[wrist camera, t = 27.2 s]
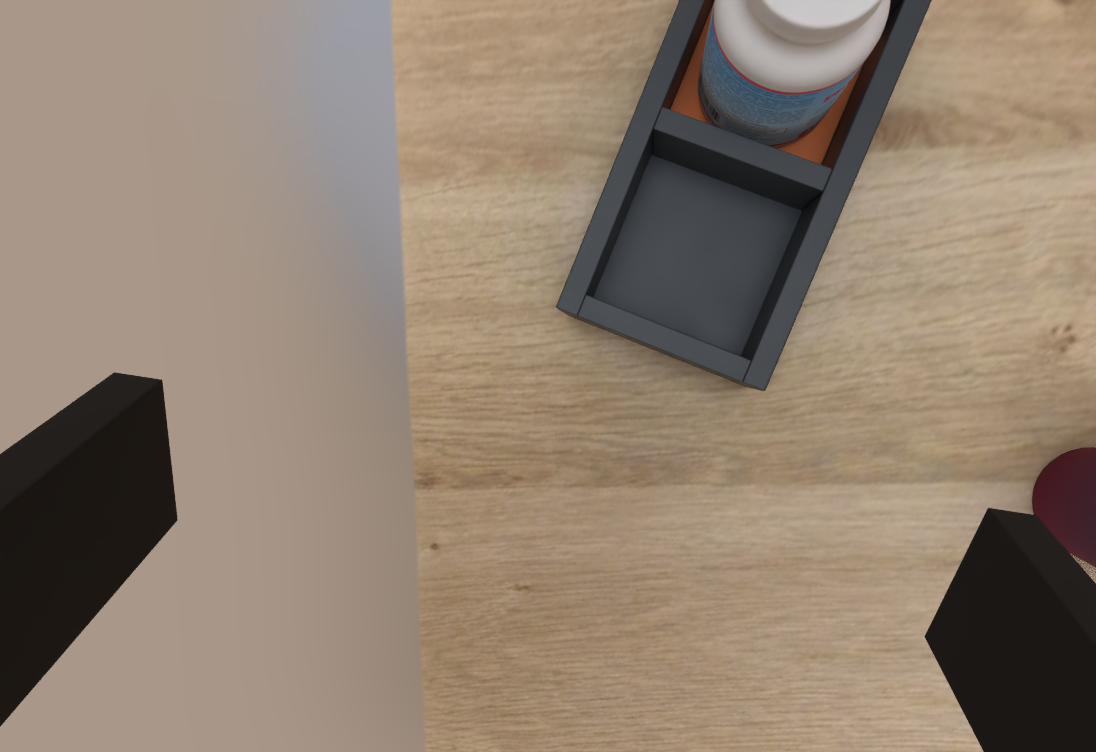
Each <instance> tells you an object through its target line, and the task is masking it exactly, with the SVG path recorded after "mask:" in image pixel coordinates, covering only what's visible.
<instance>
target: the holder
mask: <svg viewBox="0 0 1096 752" xmlns="http://www.w3.org/2000/svg"><path fill="white" fill-rule="evenodd" d="M714 1H715V0H679V3H678V5H677V8H676V10H675V13H674V15H673V18H672V20H671V23H670V25H669V28H668V30H667V33H666V35H665V38H664V40H663V43H662V45H661V48H660V50H659V53H658V55H657V58H656V60H655V62H654V65H653V67H652V70H651V72H650V75H649V77H648V80H647V82H646V85H645V87H644V90H643V92H642V95H641V97H640V100H639V102H638V105H637V107H636V110H635V112H634V115H633V117H632V120H631V122H630V125H629V127H628V130H627V132H626V135H625V137H624V139H623V142H622V144H621V147H620V149H619V152H618V154H617V157H616V159H615V162H614V164H613V167H612V169H611V172H610V174H609V177H608V179H607V182H606V184H605V187H604V189H603V192H602V194H601V197H600V199H599V202H598V204H597V207H596V209H595V211H594V214H593V216H592V219H591V221H590V224H589V226H588V229H587V231H586V234H585V236H584V239H583V241H582V244H581V246H580V249H579V251H578V254H577V256H576V259H575V261H574V264H573V266H572V269H571V271H570V274H569V276H568V279H567V281H566V283H565V286H564V288H563V291H562V293H561V296H560V298H559V301H558V303H557V306H556V308H558V309H559V310H561V311H562V312H564V313H565V314H567V315H569V316H572V317H574V318H577V319H579V320H582V321H584V322H586V323H589V324H591V325H594V326H596V327H599V328H601V329H604V330H606V331H609V332H611V333H614V334H616V335H619V336H621V337H624V338H626V339H629V340H631V341H634V342H636V343H639V344H641V345H644V346H646V347H649V348H651V349H654V350H656V351H659V352H661V353H664V354H666V355H669V356H671V357H674V358H676V359H679V360H681V361H683V362H686V363H688V364H691V365H693V366H696V367H698V368H701V369H703V370H706V371H708V372H711V373H713V374H716V375H718V376H721V377H723V378H726V379H728V380H731V381H733V382H736V383H738V384H741V385H743V386H746V387H749V388H753V389H757V390H761V391H765V390H766V388H767V385H768V383H769V381H770V378H771V376H772V374H773V371H774V369H775V367H776V364H777V362H778V359H779V357H780V355H781V352H782V350H783V348H784V345H785V343H786V341H787V338H788V336H789V334H790V331H791V329H792V327H793V324H794V322H795V320H796V317H797V315H798V313H799V310H800V308H801V306H802V303H803V301H804V298H805V296H806V294H807V291H808V289H809V287H810V284H811V282H812V280H813V277H814V275H815V273H816V270H817V268H818V266H819V263H820V261H821V259H822V256H823V254H824V252H825V249H826V247H827V245H828V242H829V240H830V237H831V235H832V233H833V230H834V228H835V226H836V223H837V221H838V219H839V216H840V214H841V212H842V209H843V207H844V205H845V202H846V200H847V198H848V195H849V193H850V191H851V188H852V186H853V184H854V181H855V179H856V176H857V174H858V172H859V169H860V167H861V165H862V162H863V160H864V158H865V155H866V153H867V151H868V148H869V146H870V144H871V141H872V139H873V137H874V134H875V132H876V130H877V127H878V125H879V123H880V120H881V118H882V116H883V113H884V111H885V108H886V106H887V104H888V101H889V99H890V97H891V94H892V92H893V90H894V87H895V85H896V83H897V80H898V78H899V76H900V73H901V71H902V69H903V66H904V64H905V62H906V59H907V57H908V55H909V52H910V50H911V47H912V45H913V43H914V40H915V38H916V36H917V33H918V31H919V29H920V26H921V24H922V22H923V19H924V17H925V15H926V12H927V10H928V8H929V5H930V3H931V1H932V0H890V9H889V14H888V18H887V21H886V24H885V27H884V30H883V32H882V35H881V37H880V39H879V40H878V42H877V44H876V45H875V47H874V49H873V50H872V52H871V53H870V55H869V56H868V57H867V59H866V60H865V61H864V63H863V64H862V66H861V67H860V68H859V70H858V71H857V72H856V74H855V75H854V77H853V78H852V79H851V81H850V82H849V83H848V85H847V86H846V88H845V89H844V90H843V92H842V93H841V94H840V96H839V97H838V99H837V100H836V101H835V103H834V104H833V105H832V107H831V108H830V110H829V111H828V112H827V114H826V115H825V116H824V118H823V119H822V120H821V121H820V123H819V124H818V125H817V126H816V127H815V128H814V129H813V130H812V131H811V132H810V133H808V134H807V135H806V136H804V137H803V138H801V139H799V140H798V141H796V142H793V143H791V144H788V145H785V146H781V147H777V148H774V147H771V146H768V145H766V144H763V143H760V142H757V141H755V140H752V139H749V138H747V137H744V136H741V135H738V134H736V133H733V132H730V131H727V130H725V129H722V128H719V127H716V126H714V125H711V124H710V123H709V122H708V120H707V119H706V117H705V115H704V113H703V110H702V108H701V104H700V100H699V94H698V79H699V73H700V68H701V63H702V58H703V54H704V49H705V44H706V39H707V34H708V30H709V25H710V20H711V15H712V11H713V6H714Z"/></svg>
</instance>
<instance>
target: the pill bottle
mask: <svg viewBox="0 0 1096 752" xmlns="http://www.w3.org/2000/svg"><path fill="white" fill-rule="evenodd" d="M889 9H890V0H715V1H714V6H713V11H712V15H711V20H710V25H709V30H708V34H707V39H706V44H705V49H704V54H703V58H702V63H701V68H700V73H699V79H698V94H699V100H700V104H701V108H702V110H703V113H704V115H705V117H706V119H707V120H708V122H709V123H710V124H711V125H714V126H716V127H719V128H722V129H725V130H727V131H730V132H733V133H736V134H738V135H741V136H744V137H747V138H749V139H752V140H755V141H757V142H760V143H763V144H766V145H768V146H771V147H774V148H777V147H781V146H785V145H788V144H791V143H793V142H796V141H798V140H799V139H801V138H803V137H804V136H806V135H807V134H808V133H810V132H811V131H812V130H813V129H814V128H815V127H816V126H817V125H818V124H819V123H820V121H821V120H822V119H823V118H824V116H825V115H826V114H827V112H828V111H829V110H830V108H831V107H832V105H833V104H834V103H835V101H836V100H837V99H838V97H839V96H840V94H841V93H842V92H843V90H844V89H845V88H846V86H847V85H848V83H849V82H850V81H851V79H852V78H853V77H854V75H855V74H856V72H857V71H858V70H859V68H860V67H861V66H862V64H863V63H864V61H865V60H866V59H867V57H868V56H869V55H870V53H871V52H872V50H873V49H874V47H875V45H876V44H877V42H878V40H879V39H880V37H881V35H882V32H883V30H884V27H885V24H886V21H887V18H888V14H889Z"/></svg>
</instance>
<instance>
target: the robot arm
mask: <svg viewBox="0 0 1096 752" xmlns="http://www.w3.org/2000/svg"><path fill="white" fill-rule="evenodd" d="M176 521H177V512H176V502H175V493H174V484H173V474H172V466H171V456H170V447H169V438H168V429H167V420H166V410H165V401H164V392H163V383H162V380H159V379H153V378H147V377H140V376H134V375H127V374H121V373H113V374H112V375H110V376H109V377H107V378H106V379H105V380H103V381H102V382H100V383H99V384H98V385H96V386H95V387H93V388H92V389H91V390H89V391H88V392H86V393H85V394H84V395H82V396H81V397H79V398H78V399H77V400H75V401H74V402H72V403H71V404H70V405H68V406H67V407H66V408H64V409H63V410H61V411H60V412H58V413H57V414H56V415H55V416H53V417H52V418H50V419H49V420H47V421H46V422H45V423H43V424H42V425H40V426H39V427H38V428H36V429H35V430H33V431H32V432H31V433H29V434H28V435H26V436H25V437H24V438H22V439H21V440H20V441H18V442H17V443H15V444H14V445H12V446H11V447H10V448H8V449H7V450H5V451H4V452H3V453H1V454H0V726H1V725H2V724H3V723H4V722H5V720H6V719H7V718H8V717H9V716H10V715H11V713H12V712H13V711H14V710H15V709H16V708H17V706H18V705H19V704H20V703H21V702H22V701H23V699H24V698H25V697H26V696H27V695H28V694H29V692H30V691H31V690H32V689H33V688H34V687H35V685H36V684H37V683H38V682H39V680H41V678H42V677H43V676H44V675H45V674H46V673H47V672H48V670H49V669H50V668H51V667H52V666H53V665H54V663H55V662H56V661H57V660H58V659H59V658H60V656H61V655H62V654H63V653H64V652H65V651H66V649H67V648H68V647H69V646H70V645H71V644H72V642H73V641H74V640H75V639H76V637H78V635H79V634H80V633H81V632H82V630H84V628H85V627H86V626H87V625H88V624H89V623H90V621H91V620H92V619H93V618H94V617H95V616H96V614H97V613H98V612H99V611H100V610H101V609H102V607H103V606H104V605H105V604H106V603H107V602H108V600H109V599H110V598H111V597H112V596H113V595H114V593H115V592H116V591H117V590H118V589H119V588H120V586H121V585H122V584H123V583H124V582H125V581H126V579H127V578H128V577H129V576H130V575H131V574H132V572H133V571H134V570H135V569H136V568H137V567H138V565H139V564H140V563H141V562H142V561H143V560H144V559H145V557H146V556H147V555H148V554H149V553H150V552H151V550H152V549H153V548H154V547H155V546H156V544H157V543H158V542H159V541H160V540H161V539H162V538H163V536H164V535H165V534H166V533H167V532H168V531H169V529H170V528H171V527H172V526H173V525H174V523H175V522H176ZM925 638H926V640H927V642H928V644H929V646H930V648H931V650H932V652H933V654H934V656H935V658H936V660H937V662H938V664H939V666H940V668H941V669H942V671H943V673H944V675H945V677H946V679H947V681H948V683H949V685H950V687H951V689H952V691H953V693H954V695H955V697H956V699H957V701H958V703H959V704H960V706H961V708H962V710H963V712H964V714H965V716H966V718H967V720H968V722H969V724H970V726H971V728H972V730H973V732H974V734H975V736H976V738H977V739H978V741H979V743H980V745H981V747H982V749H983V751H984V752H1096V583H1095V582H1094V581H1093V580H1092V579H1091V578H1090V577H1089V575H1088V574H1087V573H1086V572H1085V571H1084V570H1083V568H1082V567H1081V566H1080V565H1079V564H1078V563H1077V562H1076V560H1075V559H1074V558H1073V557H1072V556H1071V555H1070V553H1069V552H1068V551H1067V550H1066V549H1065V548H1064V546H1063V545H1062V544H1061V543H1060V542H1059V541H1058V540H1057V538H1056V537H1055V536H1054V535H1053V534H1052V533H1051V531H1050V530H1049V529H1048V528H1047V527H1046V526H1045V525H1044V523H1043V522H1042V521H1041V520H1040V519H1039V518H1038V516H1037V515H1030V514H1024V513H1017V512H1011V511H1005V510H998V509H992V508H988V509H987V511H986V513H985V515H984V517H983V519H982V521H981V523H980V525H979V527H978V530H977V532H976V534H975V536H974V538H973V540H972V542H971V544H970V546H969V548H968V550H967V552H966V554H965V556H964V558H963V560H962V562H961V564H960V566H959V568H958V570H957V572H956V574H955V576H954V578H953V580H952V582H951V584H950V586H949V588H948V590H947V592H946V594H945V596H944V598H943V600H942V602H941V605H940V607H939V609H938V611H937V613H936V615H935V617H934V619H933V621H932V623H931V625H930V627H929V629H928V631H927V633H926V635H925Z"/></svg>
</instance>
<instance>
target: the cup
mask: <svg viewBox="0 0 1096 752" xmlns="http://www.w3.org/2000/svg"><path fill="white" fill-rule="evenodd" d="M1033 510H1034V514H1035V515H1037V516H1038V518H1039V519H1040V520H1041V521H1042V522H1043V523H1044V525H1045V526H1046V527H1047V528H1048V529H1049V530H1050V531H1051V533H1052V534H1053V535H1054V536H1055V537H1056V538H1057V540H1058V541H1059V542H1060V543H1061V544H1062V545H1063V546H1064V548H1065V549H1066V550H1067V551H1068V552H1069V553H1071V554H1073V555H1075V556H1077V557H1078V558H1080V559H1082V560H1084V561H1085V562H1087V563H1089V564H1091V565H1093V566H1094V567H1096V448H1081V449H1076V450H1072V451H1069V452H1067V453H1065V454H1062V455H1060V456H1059V457H1057V458H1056V459H1054V460H1053V461H1052V462H1051V463H1050V464H1049V465H1048V466H1047V467H1046V468H1045V469H1044V470H1043V472H1042V473H1041V475H1040V476H1039V478H1038V480H1037V483H1036V485H1035V488H1034V493H1033Z"/></svg>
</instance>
